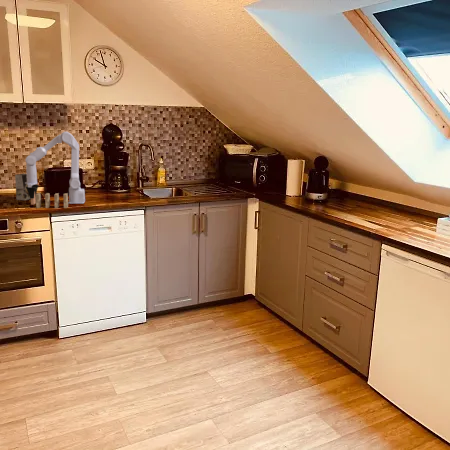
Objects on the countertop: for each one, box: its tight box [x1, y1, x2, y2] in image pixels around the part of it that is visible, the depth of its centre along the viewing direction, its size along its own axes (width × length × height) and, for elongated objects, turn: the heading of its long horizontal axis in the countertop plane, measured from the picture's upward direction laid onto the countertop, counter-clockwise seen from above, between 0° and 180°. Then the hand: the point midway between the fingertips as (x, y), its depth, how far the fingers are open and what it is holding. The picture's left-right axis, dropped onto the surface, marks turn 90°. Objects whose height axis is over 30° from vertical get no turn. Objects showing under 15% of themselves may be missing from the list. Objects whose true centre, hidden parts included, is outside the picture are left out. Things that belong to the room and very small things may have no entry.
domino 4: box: [63, 192, 69, 209], centre depth 284 cm, size 2×5×8 cm, turn 9°
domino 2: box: [44, 192, 51, 209], centre depth 283 cm, size 2×5×8 cm, turn 10°
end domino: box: [30, 194, 36, 205], centre depth 291 cm, size 2×5×8 cm, turn 9°
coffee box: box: [14, 173, 31, 201], centre depth 304 cm, size 9×6×16 cm
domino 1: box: [35, 192, 42, 209], centre depth 282 cm, size 2×5×8 cm, turn 9°
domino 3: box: [53, 192, 60, 209], centre depth 284 cm, size 2×5×8 cm, turn 10°
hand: (33, 197), depth 291 cm, fingers closed on end domino, 5 cm apart
